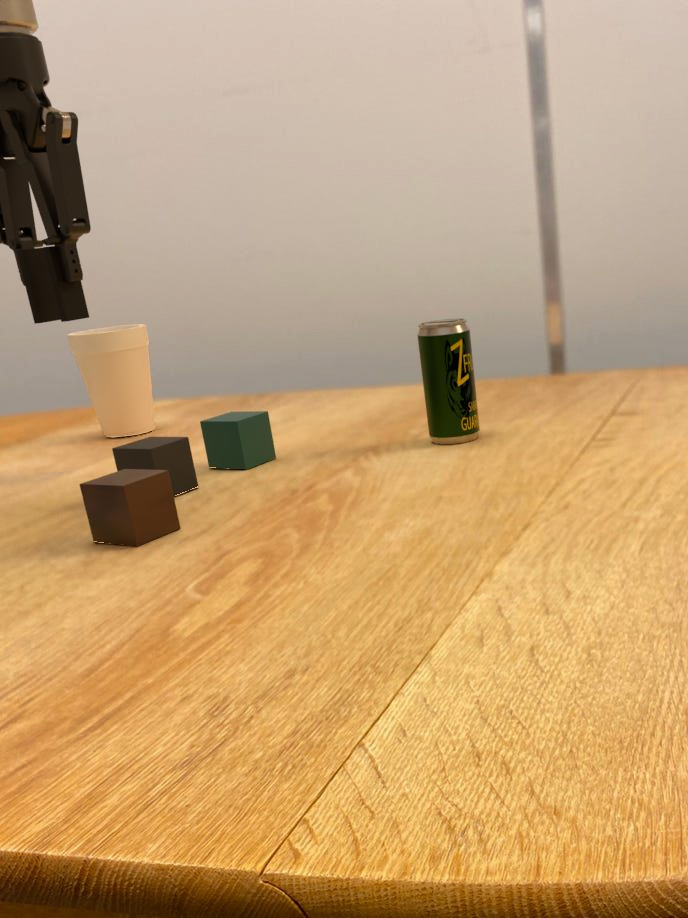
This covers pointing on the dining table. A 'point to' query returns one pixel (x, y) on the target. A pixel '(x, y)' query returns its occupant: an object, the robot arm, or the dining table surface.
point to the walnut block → (130, 506)
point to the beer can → (448, 381)
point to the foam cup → (117, 376)
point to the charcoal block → (160, 459)
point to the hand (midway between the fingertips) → (61, 320)
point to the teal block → (238, 439)
